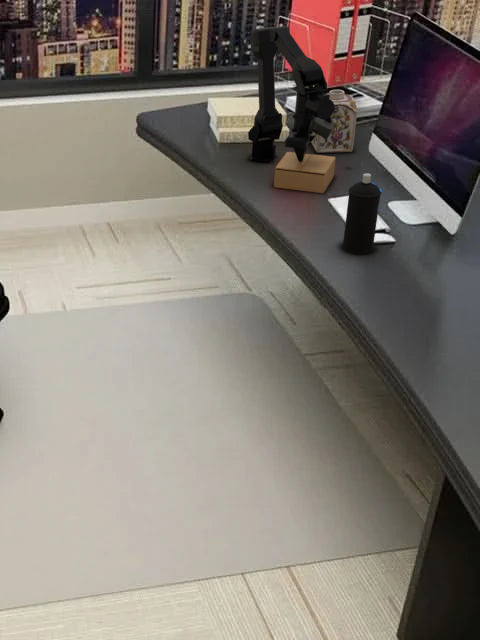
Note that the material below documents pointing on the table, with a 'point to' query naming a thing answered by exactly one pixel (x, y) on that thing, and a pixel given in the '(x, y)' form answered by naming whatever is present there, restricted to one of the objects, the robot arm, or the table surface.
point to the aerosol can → (361, 216)
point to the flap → (292, 162)
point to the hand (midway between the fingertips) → (300, 161)
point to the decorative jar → (339, 125)
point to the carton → (308, 175)
